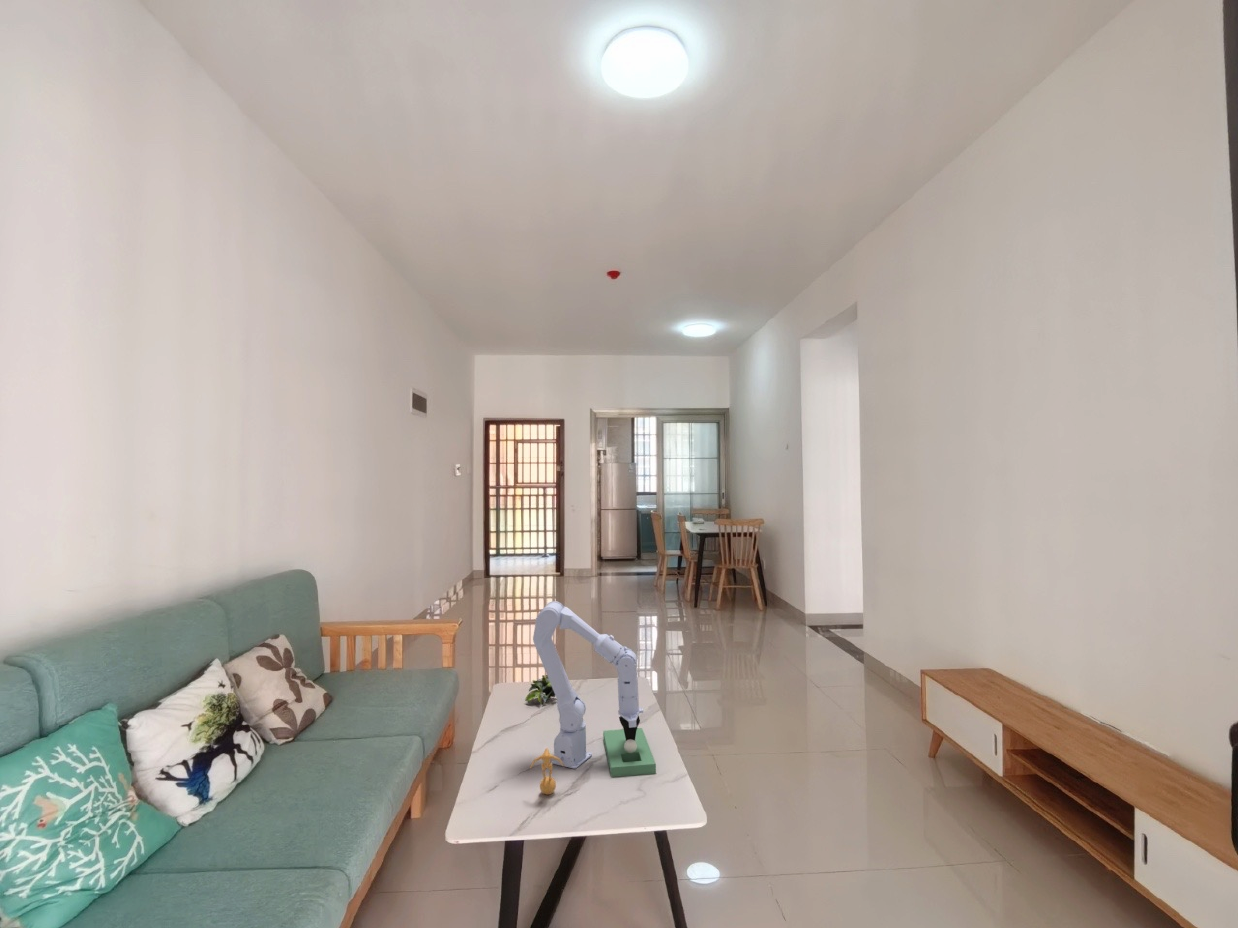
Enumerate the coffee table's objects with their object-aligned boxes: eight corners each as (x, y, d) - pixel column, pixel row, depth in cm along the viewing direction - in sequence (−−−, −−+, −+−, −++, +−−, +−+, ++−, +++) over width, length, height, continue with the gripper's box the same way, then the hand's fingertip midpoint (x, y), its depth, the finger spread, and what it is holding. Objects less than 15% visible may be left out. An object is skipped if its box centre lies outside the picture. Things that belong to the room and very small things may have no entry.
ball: (629, 739, 164) (630, 734, 168) (620, 748, 164) (622, 743, 168) (639, 748, 164) (640, 743, 167) (630, 758, 164) (631, 752, 168)
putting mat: (656, 773, 159) (655, 763, 159) (611, 776, 157) (611, 767, 157) (642, 736, 182) (642, 727, 183) (603, 738, 181) (603, 730, 181)
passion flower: (548, 713, 217) (566, 684, 219) (545, 719, 206) (564, 688, 209) (522, 695, 218) (541, 667, 221) (518, 700, 207) (538, 670, 210)
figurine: (564, 788, 152) (563, 740, 152) (564, 800, 146) (562, 751, 146) (532, 790, 151) (531, 742, 152) (530, 802, 145) (529, 753, 146)
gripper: (646, 702, 161) (648, 753, 161) (638, 684, 176) (640, 731, 175) (620, 704, 161) (623, 755, 160) (614, 686, 175) (616, 733, 175)
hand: (630, 743), depth 168 cm, fingers closed, pressing on ball
